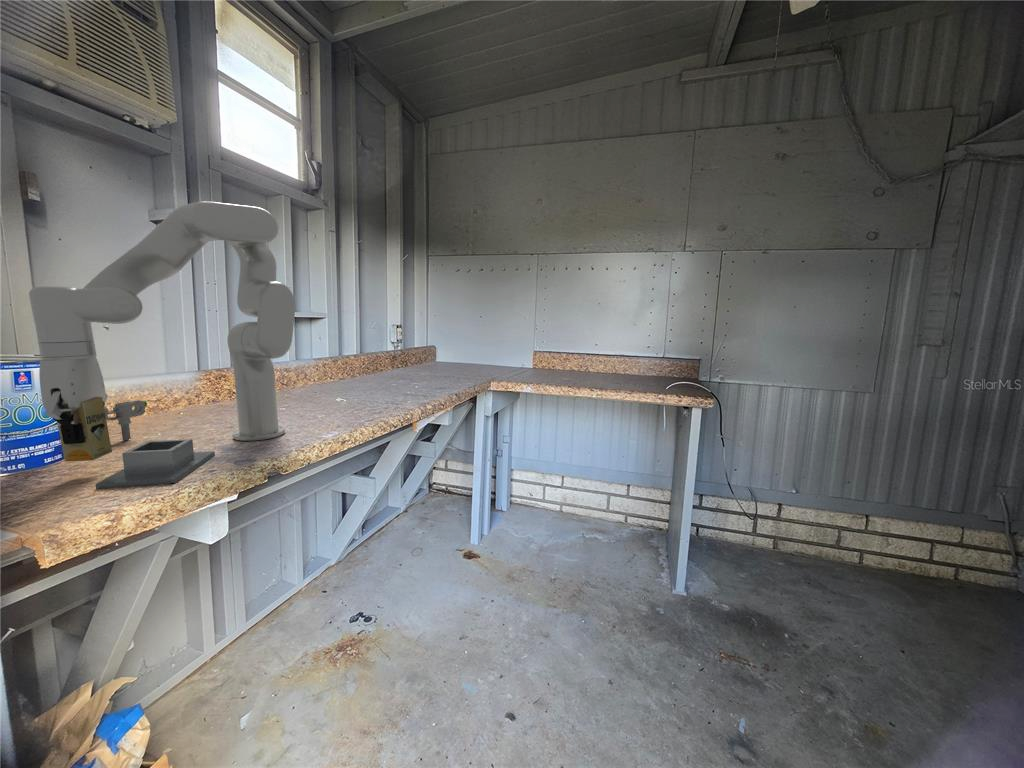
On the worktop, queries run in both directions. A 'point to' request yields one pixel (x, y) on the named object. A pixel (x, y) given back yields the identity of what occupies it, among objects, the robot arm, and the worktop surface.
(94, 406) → the shoe polish box
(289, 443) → the worktop surface
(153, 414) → the worktop surface
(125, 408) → the mechanical component
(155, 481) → the holder
